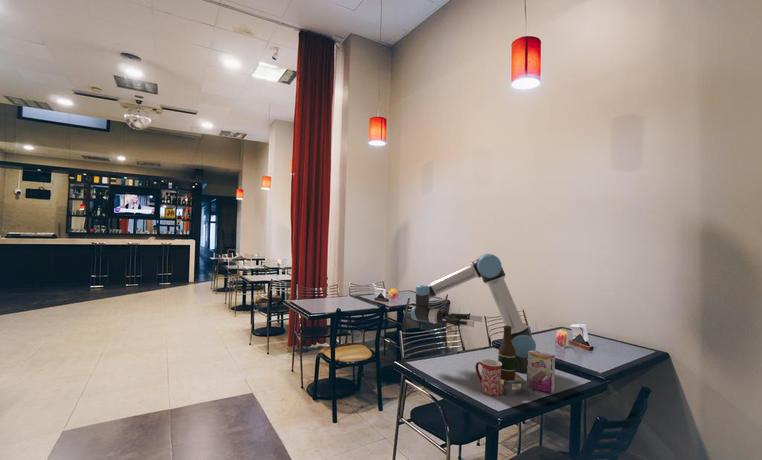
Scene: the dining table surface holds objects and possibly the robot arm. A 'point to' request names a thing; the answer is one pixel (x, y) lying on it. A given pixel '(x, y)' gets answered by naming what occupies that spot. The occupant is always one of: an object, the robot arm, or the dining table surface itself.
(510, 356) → the beer bottle
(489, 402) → the dining table surface
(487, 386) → the mug
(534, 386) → the candy bar box
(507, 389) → the shelf step
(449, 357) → the dining table surface
